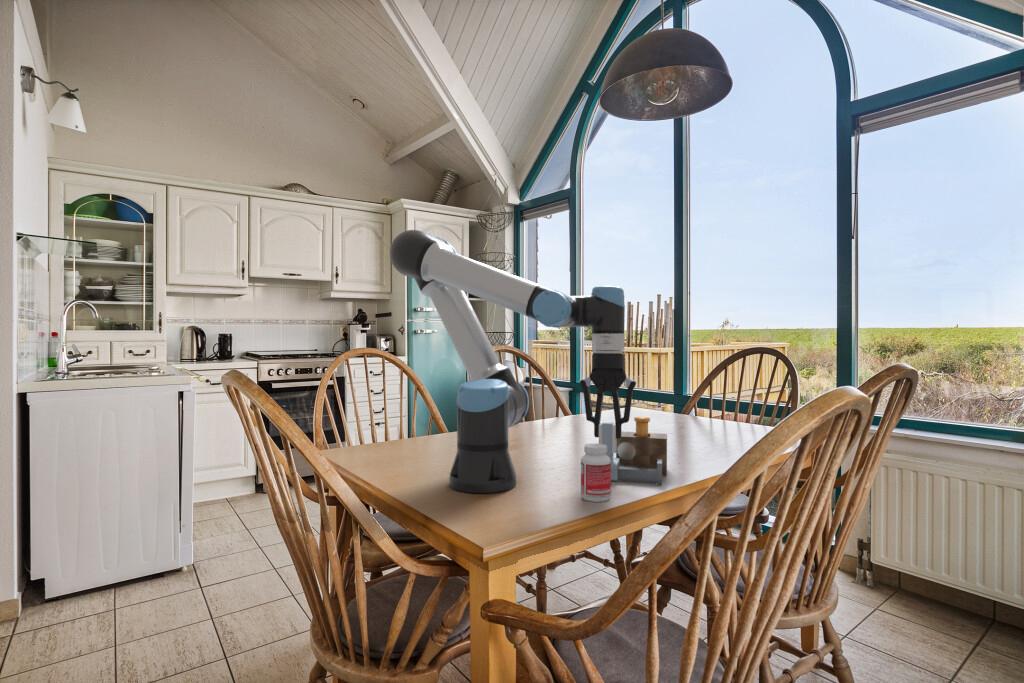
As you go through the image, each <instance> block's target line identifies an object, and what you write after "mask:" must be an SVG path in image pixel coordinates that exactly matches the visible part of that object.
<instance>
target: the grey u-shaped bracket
mask: <svg viewBox="0 0 1024 683" xmlns="http://www.w3.org/2000/svg"><path fill="white" fill-rule="evenodd" d="M611 482H622V483H623V482H624V483H634V484H635V483H636V484H648V485H649V484H650V485H656V486H658V487H659V486H660V487H661V486H662V484H663V476H662V459H658V460H657V468H649V467H635V466H620V465H618V480H617V481H616V480H611Z"/></svg>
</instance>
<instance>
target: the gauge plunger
mask: <svg viewBox="0 0 1024 683" xmlns="http://www.w3.org/2000/svg"><path fill="white" fill-rule="evenodd" d="M633 419H634V420H633V421H634V422H635V432H636V436H643V437H648V433H649V423H650V422H651V417H648V416H635V417H633Z"/></svg>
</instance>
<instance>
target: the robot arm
mask: <svg viewBox="0 0 1024 683" xmlns="http://www.w3.org/2000/svg"><path fill="white" fill-rule="evenodd" d="M391 242H392V243H391V244H390V248H389V257H390V258H389V259H390V262H391V264H392V266H393V268H394V269H395V270H396V271H397V272H398V273H400V274H401V275H403V276H405V277H409V278H412V279H414V281H415V282H416V284H417V287H418V289H419V290H420V293H421V294H422V295H423V296H425V297H429V298H430V299H431V301H432V304H433V305H434V308H435V311H436V312H437V313H438V316H439V318H440V320H441V322H442V324H443V327H444V328H445V330H446V332H447V335H448V337H449V339H450V340H451V343H452V344H453V346H454V348H455V351H456V353H457V355H458V356H459V358H460V361H461V362H462V365H463V366H464V369H465V371H466V372H467V375H468V377H469V380H468V381H465V382H463V383H461V384H460V385H459V387H458V389H457V394H456V395H457V396H456V401H455V404H456V434H457V435H456V438H457V439H456V440H457V441H456V444H457V445H456V446H457V448H456V453H455V455H454V456H455V457H454V460H453V463H452V466H451V469H450V473H449V480H448V481H449V482H448V483H449V484H448V485H449V487H450V488H451V489H453V490H456V491H458V492H461V493H469V494H470V493H471V494H491V493H499V492H500V493H501V492H505V491H508V490H511V489H512V488H515V486H516V484H517V473H516V469H515V466H514V464H513V460H512V457H511V455H510V451H509V428H512V427H514V426H516V425H518V424H519V423H520V422H521V421H522V420H523V419H524V417H526V415H527V413H528V410H529V406H530V398H529V394H528V391H527V389H526V388H525V387H524V386H523V384H522V383H520V382H519V381H517V380H516V379H515V376H514V375H513V373H512V371H511V368H510V367H509V366H506V365H503V364H501V362H500V360H499V358H498V355H497V354H496V352H495V350H494V348H493V347H492V344H491V342H490V340H489V338H488V336H487V334H486V331H485V330H484V328H483V326H482V324H481V322H480V320H479V318H478V316H477V314H476V312H475V310H474V307H473V306H472V304H471V302H470V300H469V299H468V296H467V294H470V295H472V296H474V297H476V298H480V299H482V300H484V301H488V302H490V303H493V304H495V305H497V306H500V307H502V308H505V309H507V310H510V311H513V312H515V313H518V314H521V315H523V316H526V317H527V318H530V319H531V320H532V319H533V320H534V321H538V322H539V323H540V324H542V325H543V326H545V327H546V328H547V327H548V328H557V329H558V328H582V327H583V328H584V327H585V328H589V327H591V330H592V331H591V350H592V351H593V353H591V372H590V374H589V376H588V377H586V378H581V380H580V381H579V385H580V386H581V388H582V392H583V399H584V400H583V402H584V408H585V409H584V410H585V417H586V418H585V419H586V421H588V422H591V423H592V424H593V428H594V429H593V436H594V438H598V444H602V423H603V422H601V417H602V411H603V403H604V402H603V401H604V396H605V392H610V393H611V396H612V397H611V398H612V405H613V406H612V407H613V414H614V421H615V422H614V423H613V425H612V453H613V454H616V451H617V438H619V439H620V437H621V432H622V425H623V424H626V423H628V422H629V421H630V418H631V410H632V400H633V399H632V398H633V393H634V389H635V387H636V386H637V381H636V380H633V379H631V378H629V377H627V374H626V372H625V354H624V353H623V351H624V350H625V317H626V316H625V312H626V311H625V309H626V308H625V307H626V305H625V291H624V289H623V288H622V287H620V286H615V285H601V286H600V285H598V286H594V287H593V288H592V291H591V294H587V295H568V294H565V293H562V292H561V291H559V290H555V289H551V288H549V287H546V286H544V285H540V284H539V283H536V282H533V281H530V280H528V279H525V278H523V277H520V276H517V275H514V274H511V273H509V272H507V271H504V270H502V269H498V268H496V267H493V266H490V265H488V264H485V263H483V262H481V261H477V260H474V259H472V258H469V257H466V256H464V255H462V254H459V253H457V250H456V249H455V247H453V245H452V244H450V243H449V242H448V241H446V240H445V239H443V238H440V237H437V236H433V235H431V234H430V233H429V234H428V233H427V232H424V231H422V230H417V229H410V230H409V229H407V230H405V231H403V232H401V233H399V234H397V236H395V238H394V239H393V241H391ZM466 293H467V294H466ZM591 382H592V383H593V385H594V387H595V388H596V389H597V393H596V404H595V410H594V415H593V406H592V405H593V404H592V399H591V398H592V397H591V396H592V395H591V389H590V386H592V385H591ZM624 383H625V388H627V390H626V395H625V403H624V410H623V417H622V414H621V413H622V412H621V406H620V397H619V389H620V388H621V387H622V385H623V384H624Z"/></svg>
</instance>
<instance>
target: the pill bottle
mask: <svg viewBox="0 0 1024 683" xmlns="http://www.w3.org/2000/svg"><path fill="white" fill-rule="evenodd" d="M583 450H584V453H585V454H584V455H582V456H581V458H580V496H581V499H583V500H584V501H587V502H593V503H603V502H607V501H609V500H610V499H611V496H612V495H611V494H612V486H611V485H612V483H611V482H612V481H611V460H610V458H609V457H608V456H607V455H606V453H607V445H605V444H599V443H587V444H584V449H583Z"/></svg>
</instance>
